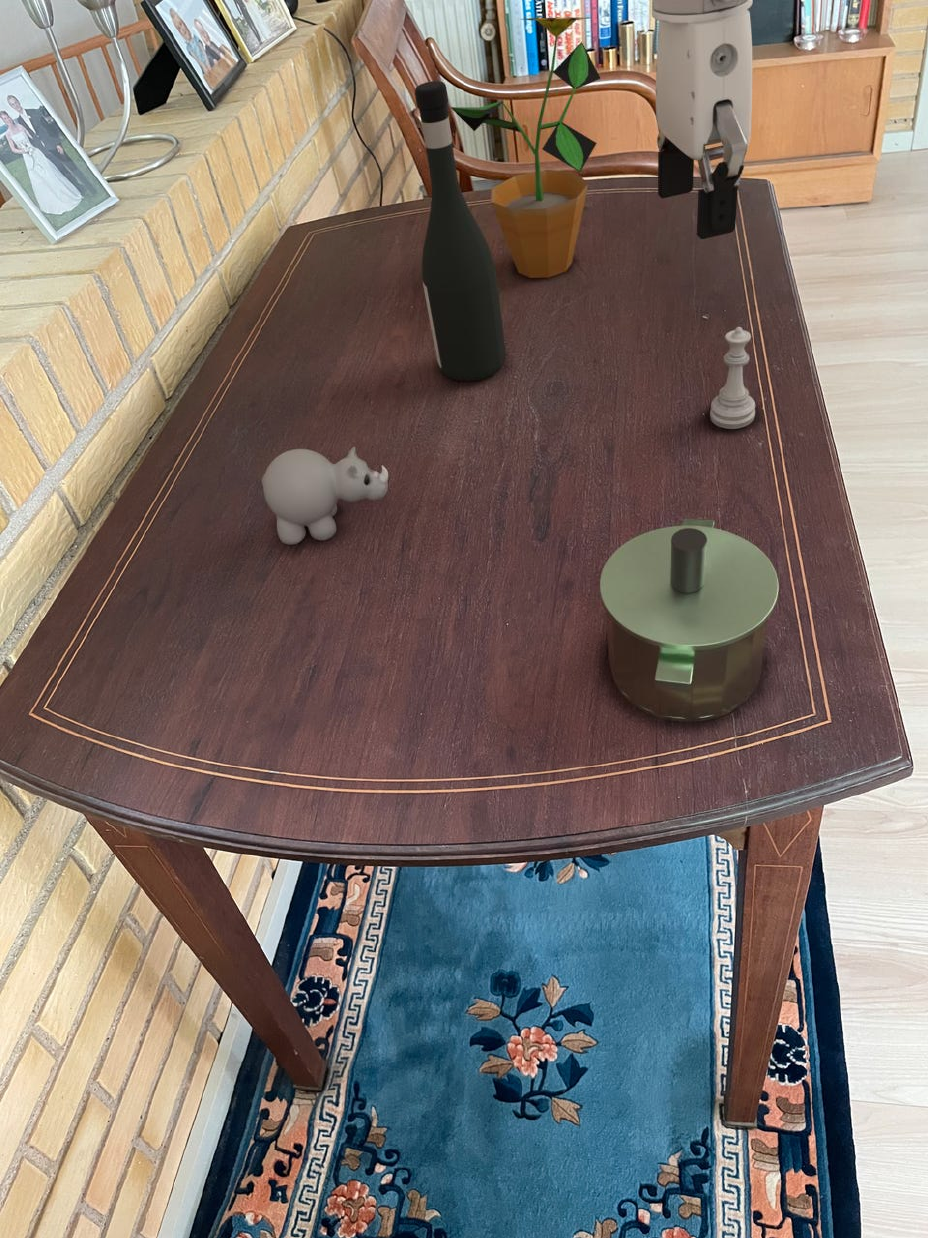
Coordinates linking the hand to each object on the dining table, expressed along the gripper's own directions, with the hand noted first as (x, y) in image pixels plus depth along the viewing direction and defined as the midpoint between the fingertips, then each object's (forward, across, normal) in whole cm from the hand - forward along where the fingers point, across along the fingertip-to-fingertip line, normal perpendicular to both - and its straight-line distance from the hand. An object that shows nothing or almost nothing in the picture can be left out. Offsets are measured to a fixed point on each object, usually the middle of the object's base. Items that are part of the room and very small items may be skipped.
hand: (694, 213), depth 82 cm
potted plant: (+20, +40, +5) cm, 45 cm away
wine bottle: (+20, +18, +20) cm, 33 cm away
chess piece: (+20, -3, -3) cm, 21 cm away
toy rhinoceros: (+20, -6, +38) cm, 43 cm away
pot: (+20, -33, +13) cm, 41 cm away
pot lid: (+12, -33, +13) cm, 38 cm away
